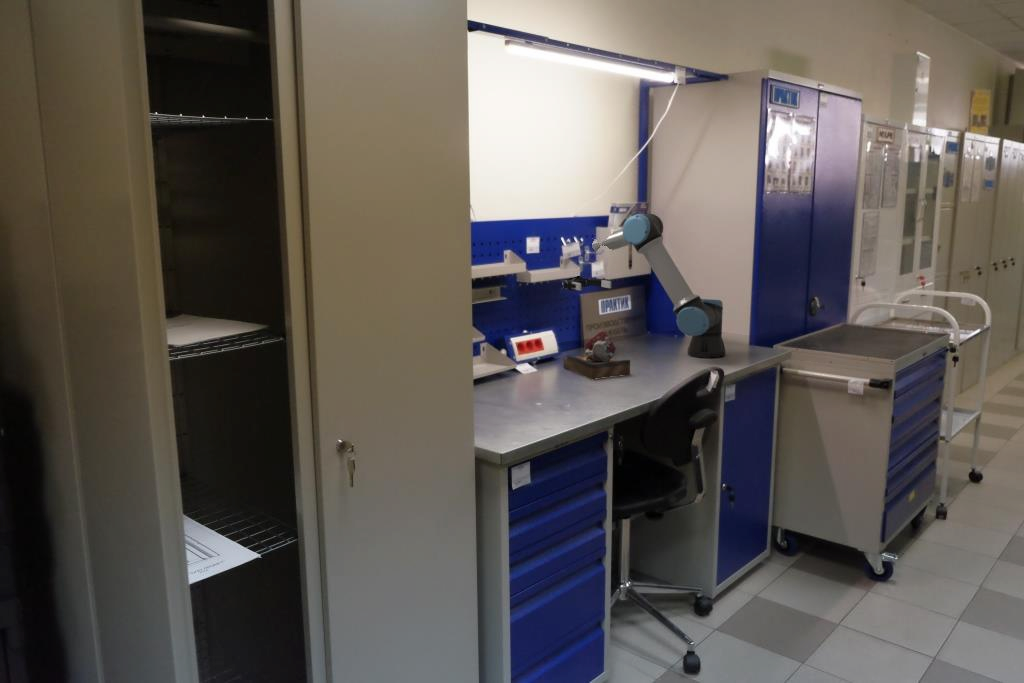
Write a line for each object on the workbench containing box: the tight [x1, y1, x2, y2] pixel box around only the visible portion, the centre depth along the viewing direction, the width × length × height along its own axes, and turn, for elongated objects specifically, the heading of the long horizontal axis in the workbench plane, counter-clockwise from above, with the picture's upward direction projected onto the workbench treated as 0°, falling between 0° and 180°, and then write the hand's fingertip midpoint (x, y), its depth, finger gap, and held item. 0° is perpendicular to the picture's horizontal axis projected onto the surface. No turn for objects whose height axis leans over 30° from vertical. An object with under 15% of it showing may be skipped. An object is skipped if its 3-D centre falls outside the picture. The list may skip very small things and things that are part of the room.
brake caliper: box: [584, 330, 617, 362], centre depth 277 cm, size 11×11×12 cm
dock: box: [563, 354, 631, 380], centre depth 281 cm, size 16×22×6 cm
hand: (595, 285), depth 296 cm, fingers open, 13 cm apart
